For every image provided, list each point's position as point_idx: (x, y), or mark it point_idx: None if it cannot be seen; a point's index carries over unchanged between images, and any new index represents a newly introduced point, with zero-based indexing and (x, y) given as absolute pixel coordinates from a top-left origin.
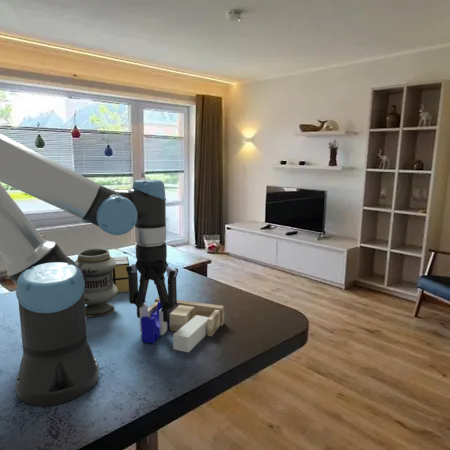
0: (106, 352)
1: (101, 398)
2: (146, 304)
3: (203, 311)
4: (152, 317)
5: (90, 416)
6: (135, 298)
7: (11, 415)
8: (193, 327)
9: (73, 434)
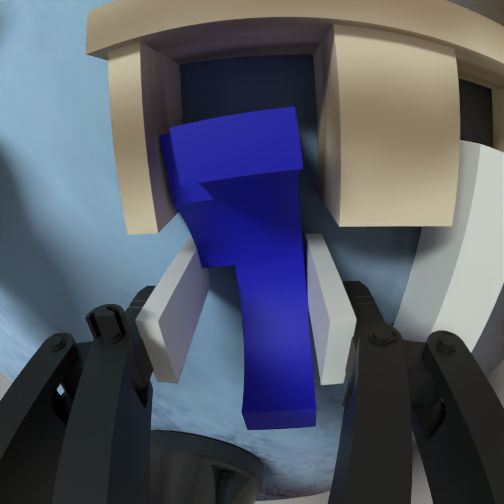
0: (185, 397)
1: (296, 471)
2: (154, 326)
3: (484, 68)
4: (302, 412)
5: (303, 483)
6: (77, 384)
7: None
8: (483, 296)
9: (301, 492)
